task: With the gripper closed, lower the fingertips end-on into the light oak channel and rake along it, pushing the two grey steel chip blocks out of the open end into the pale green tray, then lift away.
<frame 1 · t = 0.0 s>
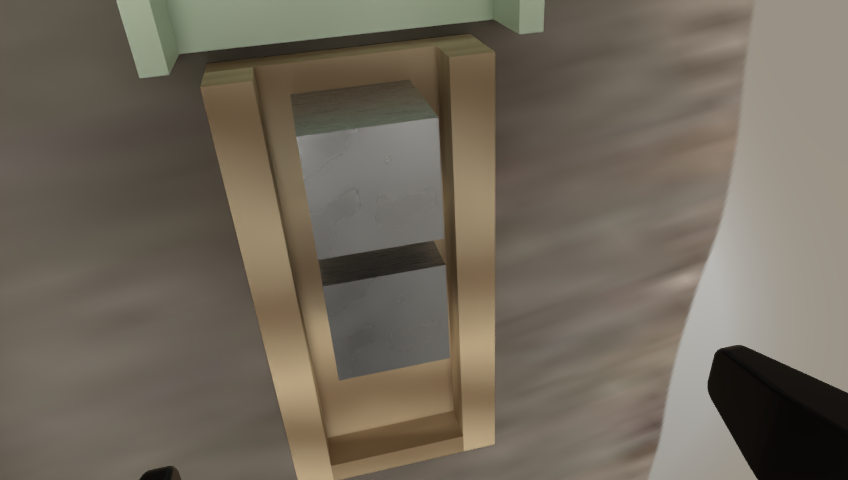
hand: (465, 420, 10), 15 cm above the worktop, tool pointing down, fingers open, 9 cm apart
chip 2: (372, 262, 24), point 1 cm above the worktop, touching oak channel
chip 1: (357, 143, 21), point 1 cm above the worktop, touching oak channel
oak channel: (370, 267, 26), on the worktop
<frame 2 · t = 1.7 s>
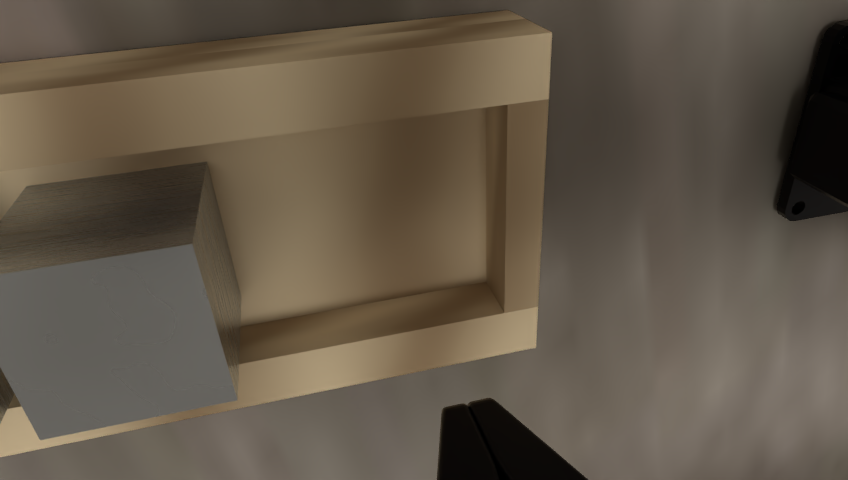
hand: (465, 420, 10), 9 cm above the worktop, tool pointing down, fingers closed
chip 2: (143, 246, 15), point 1 cm above the worktop, touching oak channel
oak channel: (189, 217, 17), on the worktop
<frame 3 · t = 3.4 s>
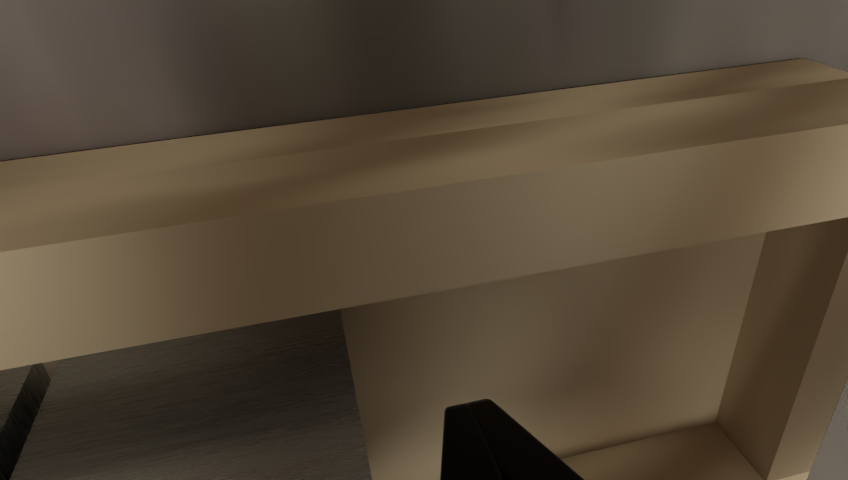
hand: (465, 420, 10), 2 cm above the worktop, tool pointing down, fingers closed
chip 2: (234, 418, 10), point 1 cm above the worktop, touching gripper
oak channel: (325, 352, 12), on the worktop
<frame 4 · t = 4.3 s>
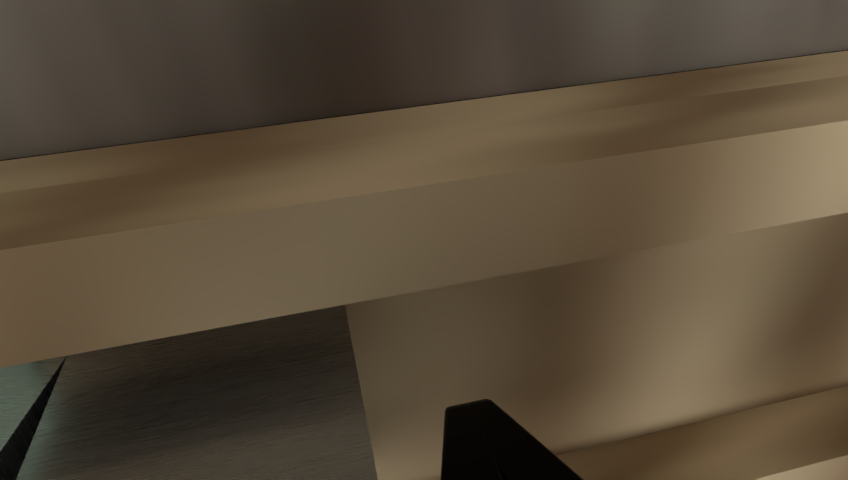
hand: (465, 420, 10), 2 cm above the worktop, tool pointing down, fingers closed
chip 2: (239, 414, 10), point 1 cm above the worktop, touching gripper
oak channel: (569, 302, 12), on the worktop
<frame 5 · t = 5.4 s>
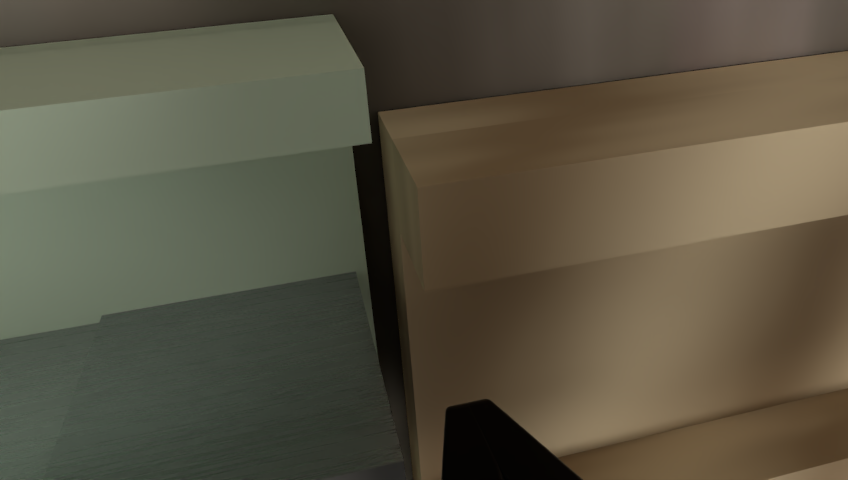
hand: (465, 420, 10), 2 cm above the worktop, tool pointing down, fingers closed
chip 2: (257, 383, 11), point 1 cm above the worktop, touching chip 1, gripper
green tray: (35, 407, 11), on the worktop
chip 1: (16, 437, 10), point 1 cm above the worktop, touching chip 2
oak channel: (804, 258, 13), on the worktop
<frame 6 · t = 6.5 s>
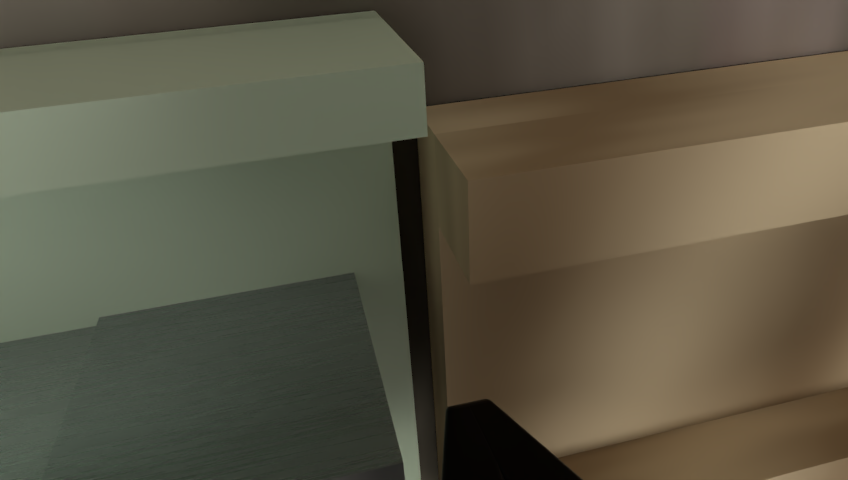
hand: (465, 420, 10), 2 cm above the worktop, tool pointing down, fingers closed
chip 2: (255, 385, 11), resting on green tray, touching chip 1, gripper
green tray: (71, 402, 11), on the worktop
chip 1: (14, 441, 10), resting on green tray, touching chip 2
oak channel: (827, 253, 13), on the worktop
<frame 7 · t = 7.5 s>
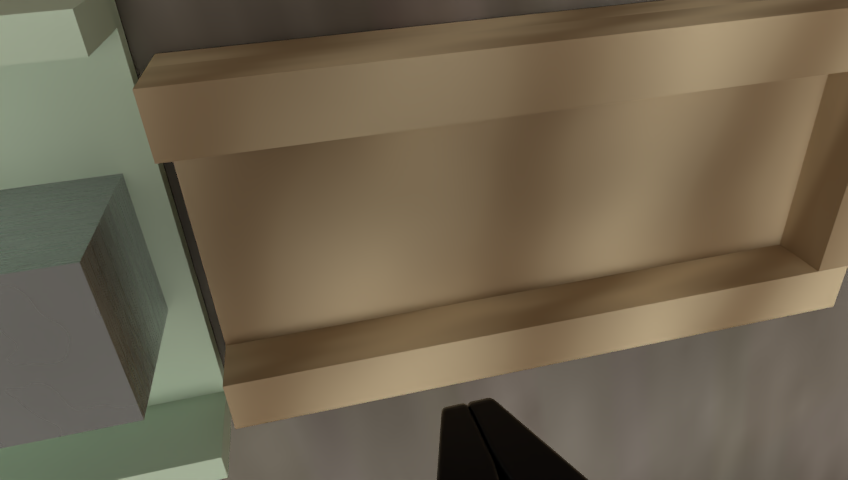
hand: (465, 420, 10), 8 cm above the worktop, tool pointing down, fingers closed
chip 2: (61, 259, 15), resting on green tray
oak channel: (528, 178, 17), on the worktop
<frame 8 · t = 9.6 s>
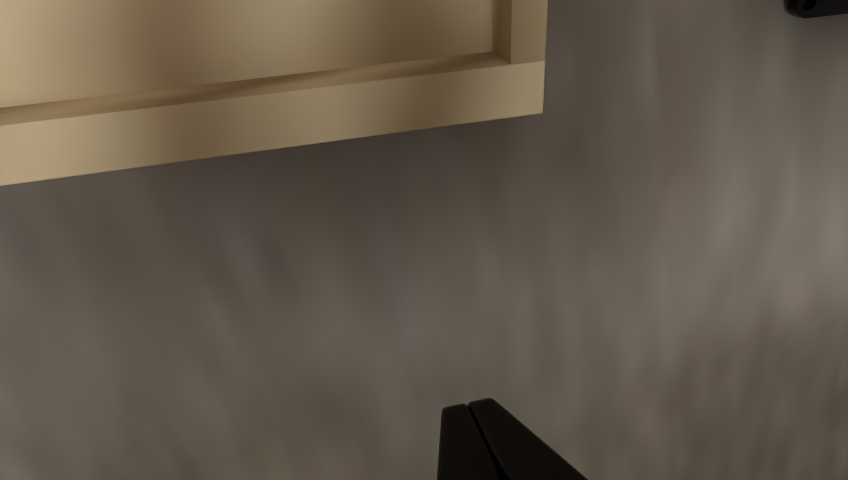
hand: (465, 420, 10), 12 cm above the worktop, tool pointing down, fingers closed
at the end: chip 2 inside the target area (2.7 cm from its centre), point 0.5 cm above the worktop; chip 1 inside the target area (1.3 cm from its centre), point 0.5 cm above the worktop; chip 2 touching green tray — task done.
